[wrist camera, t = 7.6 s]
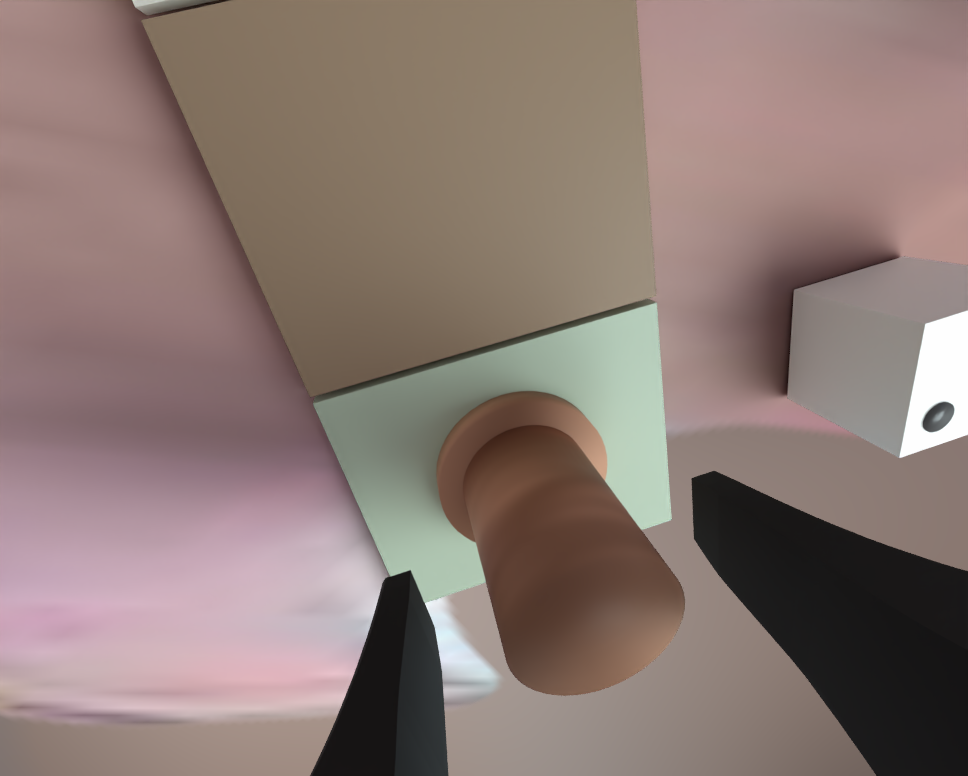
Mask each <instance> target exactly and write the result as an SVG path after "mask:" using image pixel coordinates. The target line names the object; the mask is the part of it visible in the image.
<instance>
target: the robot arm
mask: <svg viewBox="0 0 968 776" xmlns="http://www.w3.org/2000/svg"><path fill="white" fill-rule="evenodd" d="M692 500H693V525H694V539H695V541H696V542H697V544H698V546H699V547H700V549H701V550H702V552H703V553H704V555H705V556H706V558H707V559H708V560H709V562H710V563H711V565H712V566H713V568H714V569H715V570H716V572H717V573H718V575H719V576H720V577H721V578H722V580H723V581H724V582H725V583H726V584H727V586H728V587H729V588H730V589H731V590H732V591H733V593H734V594H735V595H736V596H737V597H738V598H739V600H740V601H741V602H742V603H743V604H744V605H745V606H746V608H747V609H748V610H749V611H750V612H751V613H752V614H753V616H754V617H755V618H756V619H757V620H758V621H759V622H760V624H762V626H763V627H764V628H765V629H766V630H767V632H768V633H769V634H770V635H771V636H772V637H773V638H774V640H775V641H776V642H777V643H778V644H779V645H780V646H781V648H782V649H783V650H784V651H785V652H786V653H787V655H788V656H789V657H790V658H791V659H792V660H793V662H794V663H795V664H796V665H797V667H798V668H799V669H800V670H801V672H802V673H803V674H804V675H805V676H806V678H807V679H808V680H809V682H810V683H811V685H812V686H813V687H814V689H815V690H816V691H817V693H818V694H819V695H820V697H821V698H822V699H823V701H824V702H825V704H826V705H827V706H828V708H829V709H830V710H831V712H832V713H833V715H834V716H835V717H836V719H837V720H838V721H839V723H840V724H841V726H842V727H843V728H844V730H845V731H846V733H847V734H848V736H849V737H850V738H851V740H852V741H853V743H854V744H855V745H856V747H857V748H858V750H859V751H860V752H861V754H862V755H863V757H864V758H865V760H866V761H867V763H868V764H869V765H870V767H871V768H872V770H873V771H874V773H875V774H876V776H968V571H965V570H961V569H957V568H954V567H951V566H948V565H944V564H941V563H938V562H935V561H932V560H928V559H926V558H923V557H920V556H917V555H914V554H911V553H908V552H905V551H902V550H899V549H896V548H893V547H890V546H887V545H885V544H882V543H879V542H876V541H874V540H871V539H868V538H865V537H863V536H861V535H858V534H856V533H853V532H850V531H848V530H845V529H843V528H840V527H838V526H835V525H833V524H830V523H828V522H826V521H824V520H821V519H819V518H816V517H814V516H812V515H810V514H807V513H805V512H803V511H800V510H798V509H796V508H794V507H792V506H789V505H787V504H785V503H783V502H780V501H778V500H776V499H774V498H772V497H770V496H768V495H766V494H763V493H761V492H759V491H757V490H755V489H753V488H751V487H748V486H746V485H744V484H742V483H740V482H738V481H736V480H734V479H731V478H729V477H727V476H725V475H723V474H720V473H718V472H716V471H712V472H709V473H706V474H703V475H700V476H697V477H694V478H692ZM444 714H445V713H444V697H443V682H442V670H441V663H440V657H439V651H438V645H437V639H436V633H435V627H434V625H433V622H432V620H431V617H430V615H429V613H428V610H427V608H426V605H425V603H424V601H423V598H422V596H421V593H420V591H419V589H418V586H417V584H416V581H415V579H414V577H413V574H412V572H411V570H409V571H406V572H403V573H400V574H397V575H394V576H391V577H388V578H385V580H384V582H383V583H382V587H381V591H380V595H379V599H378V603H377V606H376V610H375V613H374V616H373V620H372V623H371V626H370V629H369V633H368V636H367V639H366V642H365V645H364V647H363V650H362V653H361V656H360V659H359V662H358V665H357V668H356V670H355V673H354V676H353V679H352V681H351V684H350V686H349V689H348V691H347V694H346V696H345V699H344V701H343V704H342V706H341V709H340V711H339V714H338V716H337V718H336V721H335V723H334V725H333V728H332V730H331V732H330V735H329V737H328V739H327V741H326V743H325V746H324V748H323V750H322V752H321V754H320V756H319V758H318V761H317V763H316V765H315V767H314V769H313V771H312V773H311V775H310V776H448V763H447V747H446V730H445V715H444Z"/></svg>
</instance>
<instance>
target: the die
mask: <svg viewBox="0 0 968 776" xmlns="http://www.w3.org/2000/svg"><path fill="white" fill-rule="evenodd" d="M787 399H789V400H791V401H793V402H795V403H797V404H799V405H801V406H803V407H804V408H806V409H808V410H810V411H812V412H814V413H816V414H818V415H819V416H821V417H823V418H825V419H827V420H829V421H831V422H833V423H835V424H836V425H838V426H840V427H842V428H844V429H846V430H848V431H850V432H851V433H853V434H855V435H857V436H859V437H861V438H863V439H865V440H867V441H868V442H870V443H872V444H874V445H876V446H878V447H880V448H882V449H884V450H885V451H888V452H889V453H891V454H893V455H895V456H897V457H899V458H901V457H904V456H906V455H909V454H912V453H915V452H918V451H921V450H923V449H927V448H930V447H933V446H935V445H938V444H941V443H944V442H947V441H950V440H953V439H956V438H959V437H962V436H965V435H968V265H963V264H956V263H949V262H942V261H935V260H928V259H921V258H914V257H907V256H904V257H900V258H897V259H894V260H890V261H887V262H884V263H881V264H877V265H874V266H871V267H867V268H864V269H861V270H858V271H854V272H851V273H848V274H844V275H841V276H838V277H835V278H831V279H828V280H825V281H821V282H818V283H815V284H811V285H808V286H805V287H802V288H798V289H795V290H794V297H793V313H792V329H791V345H790V362H789V378H788V394H787Z"/></svg>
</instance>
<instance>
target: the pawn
mask: <svg viewBox="0 0 968 776" xmlns="http://www.w3.org/2000/svg"><path fill="white" fill-rule="evenodd" d="M606 474H607V454H606V449H605V445H604V443H603V440H602V438H601V436H600V434H599V433H598V431H597V430H596V428H595V427H594V426H593V425H592V424H591V422H590V421H589V420H588V419H587V418H586V417H585V415H584V414H583V413H582V412H581V411H580V410H579V409H578V408H577V407H576V406H574V405H573V404H572V403H570V402H568V401H567V400H565V399H563V398H561V397H558V396H556V395H553V394H549V393H545V392H538V391H520V392H512V393H508V394H504V395H500V396H498V397H495V398H492V399H490V400H488V401H486V402H484V403H482V404H480V405H478V406H477V407H475V408H474V409H472V410H471V411H470V412H468V413H467V414H466V415H465V416H464V417H462V418H461V419H460V421H459V422H458V423H457V424H456V425H455V426H454V427H453V429H452V430H451V431H450V433H449V434H448V435H447V437H446V439H445V441H444V443H443V445H442V447H441V450H440V453H439V456H438V461H437V469H436V477H437V485H438V491H439V497H440V501H441V505H442V508H443V511H444V513H445V515H446V517H447V519H448V520H449V522H450V523H451V525H452V526H453V527H454V528H455V529H456V530H457V531H458V532H459V533H461V534H462V535H463V536H464V537H466V538H468V539H469V540H471V541H473V542H475V543H476V545H477V549H478V553H479V557H480V561H481V565H482V568H483V572H484V576H485V580H486V584H487V588H488V592H489V595H490V599H491V603H492V607H493V611H494V615H495V619H496V622H497V627H498V630H499V634H500V638H501V642H502V646H503V650H504V653H505V657H506V661H507V664H508V666H509V669H510V671H511V672H512V673H513V675H514V676H515V677H516V678H517V679H518V680H519V681H520V682H521V683H522V684H524V685H526V686H527V687H529V688H531V689H533V690H535V691H539V692H542V693H546V694H551V695H563V696H566V695H579V694H586V693H590V692H595V691H599V690H602V689H605V688H608V687H610V686H613V685H615V684H618V683H620V682H622V681H624V680H626V679H628V678H629V677H631V676H633V675H635V674H636V673H638V672H639V671H641V670H642V669H644V668H645V667H646V666H648V665H649V664H650V663H651V662H652V661H654V660H655V659H656V658H657V657H658V656H659V655H660V654H661V653H662V652H663V651H664V650H665V648H666V647H667V646H668V645H669V643H670V642H671V641H672V639H673V638H674V636H675V635H676V633H677V631H678V629H679V627H680V624H681V621H682V618H683V614H684V609H685V598H684V592H683V589H682V586H681V584H680V582H679V581H678V579H677V578H676V576H675V575H674V574H673V572H672V571H671V570H670V568H669V567H668V565H667V564H666V563H665V561H664V560H663V559H662V557H661V556H660V555H659V553H658V552H657V551H656V549H655V548H654V547H653V545H652V544H651V543H650V541H649V540H648V538H647V537H646V536H645V534H644V533H643V532H642V530H641V529H640V528H639V526H638V525H637V524H636V522H635V521H634V520H633V518H632V517H631V515H630V514H629V513H628V511H627V510H626V509H625V507H624V506H623V505H622V503H621V502H620V501H619V499H618V498H617V497H616V495H615V494H614V493H613V491H612V490H611V488H610V487H609V486H608V484H607V483H606V482H605V479H606Z"/></svg>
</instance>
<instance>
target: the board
mask: <svg viewBox="0 0 968 776" xmlns="http://www.w3.org/2000/svg"><path fill="white" fill-rule="evenodd" d="M132 1H133V4H134V6H135V8H137V9H138V10H140V11H141V12H143V13H144V14H145V15H147V16H148V15H153V14H157V13H162V12H166V11H171V10H176V9H180V8H185V7H189V6H194V5H198V4H203V3H207V2H212V1H217V0H132ZM141 22H142V24H143V26H144V28H145V30H146V33H147V35H148V37H149V39H150V42H151V44H152V46H153V48H154V51H155V53H156V55H157V57H158V59H159V62H160V64H161V66H162V68H163V71H164V73H165V75H166V77H167V80H168V82H169V84H170V86H171V88H172V91H173V93H174V95H175V97H176V100H177V102H178V104H179V106H180V109H181V111H182V113H183V115H184V117H185V120H186V122H187V124H188V126H189V129H190V131H191V133H192V135H193V138H194V140H195V142H196V144H197V146H198V149H199V151H200V153H201V155H202V158H203V160H204V162H205V164H206V167H207V169H208V171H209V173H210V175H211V178H212V180H213V182H214V184H215V187H216V189H217V191H218V193H219V196H220V198H221V200H222V202H223V205H224V207H225V209H226V211H227V213H228V216H229V218H230V220H231V222H232V225H233V227H234V229H235V231H236V234H237V236H238V238H239V240H240V242H241V245H242V247H243V249H244V251H245V254H246V256H247V258H248V260H249V263H250V265H251V267H252V269H253V271H254V274H255V276H256V278H257V280H258V283H259V285H260V287H261V289H262V292H263V294H264V296H265V298H266V300H267V303H268V305H269V307H270V309H271V312H272V314H273V316H274V318H275V321H276V323H277V325H278V327H279V329H280V332H281V334H282V336H283V338H284V341H285V343H286V345H287V347H288V350H289V352H290V354H291V356H292V358H293V361H294V363H295V365H296V367H297V370H298V372H299V374H300V376H301V379H302V381H303V383H304V385H305V388H306V390H307V392H308V394H309V396H310V397H314V396H315V399H314V402H313V405H314V408H315V410H316V412H317V414H318V417H319V419H320V421H321V423H322V425H323V428H324V430H325V432H326V434H327V437H328V439H329V441H330V443H331V446H332V448H333V450H334V452H335V454H336V457H337V459H338V461H339V463H340V466H341V468H342V470H343V472H344V475H345V477H346V479H347V481H348V483H349V486H350V488H351V490H352V492H353V495H354V497H355V499H356V501H357V504H358V506H359V508H360V510H361V512H362V515H363V517H364V519H365V521H366V524H367V526H368V528H369V530H370V533H371V535H372V537H373V539H374V541H375V544H376V546H377V548H378V550H379V553H380V555H381V557H382V559H383V562H384V564H385V566H386V568H387V571H388V573H389V575H390V577H391V576H394V575H397V574H400V573H403V572H406V571H409V570H411V572H412V574H413V577H414V579H415V581H416V584H417V586H418V589H419V591H420V593H421V596H422V598H423V601H424V603H426V602H429V601H432V600H435V599H438V598H441V597H444V596H447V595H450V594H453V593H456V592H459V591H462V590H465V589H468V588H471V587H474V586H477V585H479V584H483V583H486V580H485V576H484V572H483V568H482V565H481V561H480V557H479V553H478V549H477V545H476V543H475V542H473V541H471V540H469V539H468V538H466V537H464V536H463V535H462V534H461V533H459V532H458V531H457V530H456V529H455V528H454V527H453V526H452V525H451V523H450V522H449V520H448V519H447V517H446V515H445V513H444V511H443V508H442V505H441V501H440V497H439V491H438V485H437V477H436V469H437V461H438V456H439V453H440V450H441V447H442V445H443V443H444V441H445V439H446V437H447V435H448V434H449V433H450V431H451V430H452V429H453V427H454V426H455V425H456V424H457V423H458V422H459V421H460V419H461V418H462V417H464V416H465V415H466V414H467V413H468V412H470V411H471V410H472V409H474V408H475V407H477V406H478V405H480V404H482V403H484V402H486V401H488V400H490V399H492V398H495V397H498V396H500V395H504V394H508V393H512V392H520V391H538V392H545V393H549V394H553V395H556V396H558V397H561V398H563V399H565V400H567V401H568V402H570V403H572V404H573V405H574V406H576V407H577V408H578V409H579V410H580V411H581V412H582V413H583V414H584V415H585V417H586V418H587V419H588V420H589V421H590V422H591V424H592V425H593V426H594V427H595V428H596V430H597V431H598V433H599V434H600V436H601V438H602V440H603V443H604V445H605V449H606V454H607V474H606V479H605V482H606V483H607V484H608V486H609V487H610V488H611V490H612V491H613V493H614V494H615V495H616V497H617V498H618V499H619V501H620V502H621V503H622V505H623V506H624V507H625V509H626V510H627V511H628V513H629V514H630V515H631V517H632V518H633V520H634V521H635V522H636V524H637V525H638V526H639V528H640V529H641V530H643V529H646V528H649V527H652V526H655V525H658V524H661V523H664V522H667V521H670V520H672V519H671V506H670V490H669V475H668V462H667V447H666V431H665V417H664V402H663V387H662V373H661V358H660V343H659V329H658V314H657V303H656V302H654V301H652V300H650V299H648V298H651V297H654V296H656V285H655V270H654V255H653V241H652V226H651V211H650V197H649V182H648V167H647V153H646V138H645V123H644V109H643V94H642V79H641V65H640V50H639V35H638V21H637V6H636V0H231V1H226V2H221V3H217V4H212V5H208V6H203V7H199V8H194V9H190V10H185V11H181V12H176V13H171V14H167V15H162V16H158V17H153V18H149V19H144V20H141ZM644 299H645V300H644ZM641 300H642V301H641ZM637 301H638V302H637ZM634 302H635V303H634ZM631 303H632V304H631ZM627 304H628V305H627ZM624 305H625V306H624ZM620 306H621V307H620ZM617 307H618V308H617ZM614 308H615V309H614ZM610 309H611V310H610ZM607 310H608V311H607ZM603 311H604V312H603ZM600 312H601V313H600ZM593 314H594V315H593ZM590 315H591V316H590ZM586 316H587V317H586ZM583 317H584V318H583ZM579 318H580V319H579ZM576 319H577V320H576ZM573 320H574V321H573ZM569 321H570V322H569ZM566 322H567V323H566ZM562 323H563V324H562ZM559 324H560V325H559ZM556 325H557V326H556ZM552 326H553V327H552ZM549 327H550V328H549ZM545 328H546V329H545ZM542 329H543V330H542ZM539 330H540V331H539ZM535 331H536V332H535ZM532 332H533V333H532ZM528 333H529V334H528ZM525 334H526V335H525ZM521 335H522V336H521ZM518 336H519V337H518ZM515 337H516V338H515ZM511 338H512V339H511ZM508 339H509V340H508ZM504 340H505V341H504ZM501 341H502V342H501ZM498 342H499V343H498ZM494 343H495V344H494ZM491 344H492V345H491ZM487 345H488V346H487ZM484 346H485V347H484ZM481 347H482V348H481ZM477 348H478V349H477ZM474 349H475V350H474ZM470 350H471V351H470ZM467 351H468V352H467ZM464 352H465V353H464ZM460 353H461V354H460ZM457 354H458V355H457ZM453 355H454V356H453ZM450 356H451V357H450ZM446 357H447V358H446ZM443 358H444V359H443ZM440 359H441V360H440ZM436 360H437V361H436ZM433 361H434V362H433ZM429 362H430V363H429ZM426 363H427V364H426ZM423 364H424V365H423ZM419 365H420V366H419ZM416 366H417V367H416ZM412 367H413V368H412ZM409 368H410V369H409ZM406 369H407V370H406ZM402 370H403V371H402ZM399 371H400V372H399ZM395 372H396V373H395ZM392 373H393V374H392ZM389 374H390V375H389ZM385 375H386V376H385ZM382 376H383V377H382ZM378 377H379V378H378ZM375 378H376V379H375ZM371 379H372V380H371ZM368 380H369V381H368ZM365 381H366V382H365ZM361 382H362V383H361ZM358 383H359V384H358ZM354 384H355V385H354ZM351 385H352V386H351ZM348 386H349V387H348ZM344 387H345V388H344ZM341 388H342V389H341ZM337 389H338V390H337ZM334 390H335V391H334ZM331 391H332V392H331ZM327 392H328V393H327ZM324 393H325V394H324ZM320 394H321V395H320ZM317 395H318V396H317Z"/></svg>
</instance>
